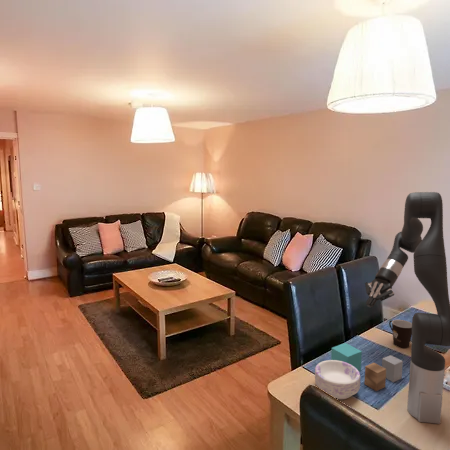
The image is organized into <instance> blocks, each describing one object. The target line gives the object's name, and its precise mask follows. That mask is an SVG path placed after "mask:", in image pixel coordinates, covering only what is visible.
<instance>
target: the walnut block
mask: <svg viewBox="0 0 450 450" xmlns="http://www.w3.org/2000/svg"><path fill="white" fill-rule="evenodd" d="M386 380H387V379H386V369H385V368H384V367H382V365H380V364H378V363H376V362H372V363H369V364H367V365H365V366H364V382H363V383H364V385H366V386H367V387H368V388H370V389H371V390H373V391H375V392H378V391H380V390H382V389H384V388H385V387H386Z"/></svg>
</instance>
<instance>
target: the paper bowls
mask: <svg viewBox="0 0 450 450" xmlns="http://www.w3.org/2000/svg"><path fill="white" fill-rule="evenodd" d="M314 381H315V385H316V387H318V388H319V389H320V390H321V389H322V390H324V391H325V392H327V393H328V394H330V395H332V396H333V397H335V398H337V399H336V400H346V399H349V398H351V397H352V396H355V395H356V394H357V393H358V392H359V391H360V389H361V374H360V371H358V370H357V369H356V368H355V367H354V366H352V365H351V364H349V363H346V362H343V361H338V360H331V359H327V360H322V361H320V362H318V363H317V364H316V366H315V367H314ZM322 390H321V391H322ZM335 398H334V399H335Z"/></svg>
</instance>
